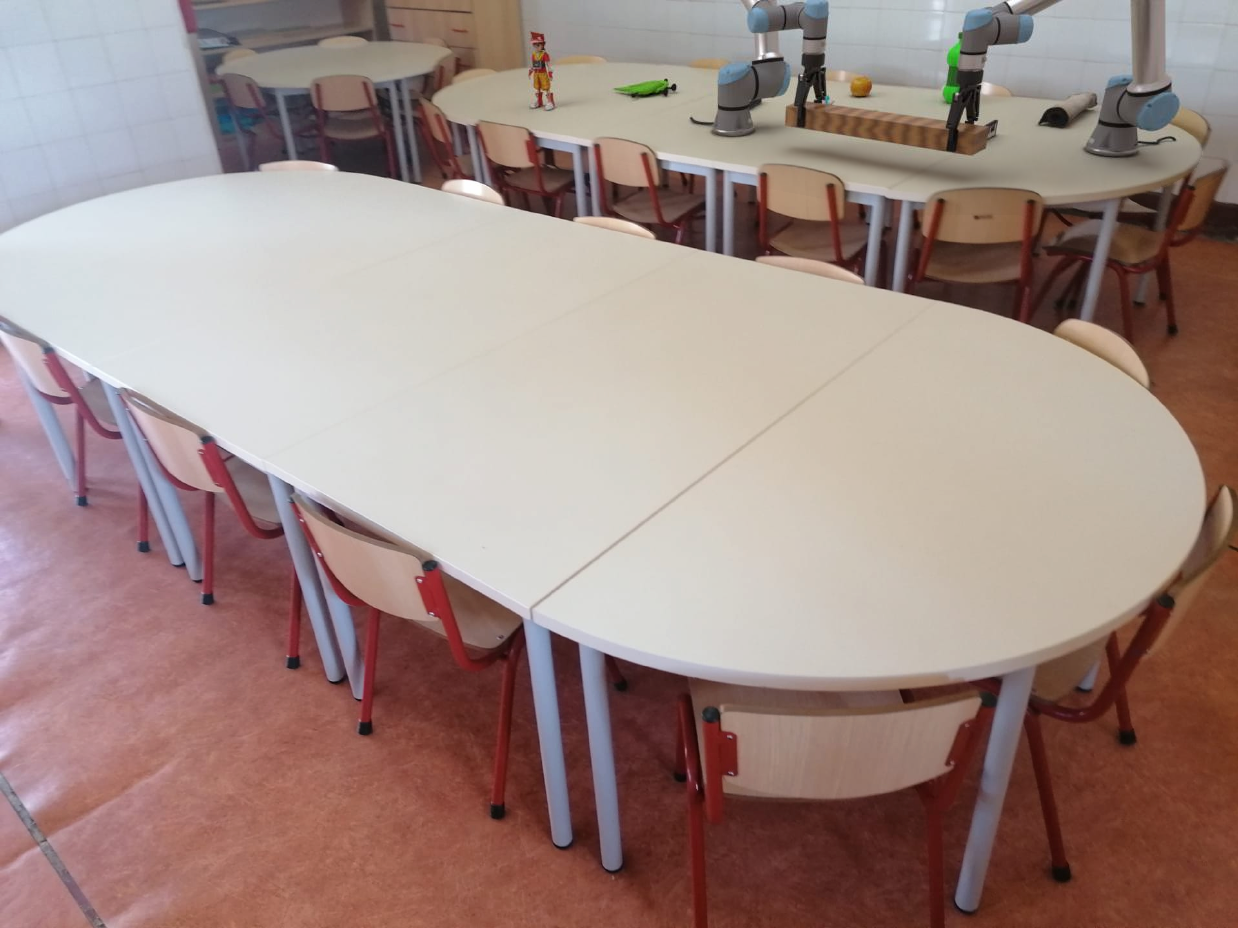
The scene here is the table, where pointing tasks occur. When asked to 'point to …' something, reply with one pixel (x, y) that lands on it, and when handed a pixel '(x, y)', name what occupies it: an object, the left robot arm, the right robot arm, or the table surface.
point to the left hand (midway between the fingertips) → (808, 123)
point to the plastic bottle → (952, 71)
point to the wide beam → (888, 127)
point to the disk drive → (754, 102)
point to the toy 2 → (648, 88)
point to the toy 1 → (541, 71)
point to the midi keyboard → (992, 128)
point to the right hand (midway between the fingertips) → (958, 147)
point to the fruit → (861, 86)
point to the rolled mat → (1068, 109)
